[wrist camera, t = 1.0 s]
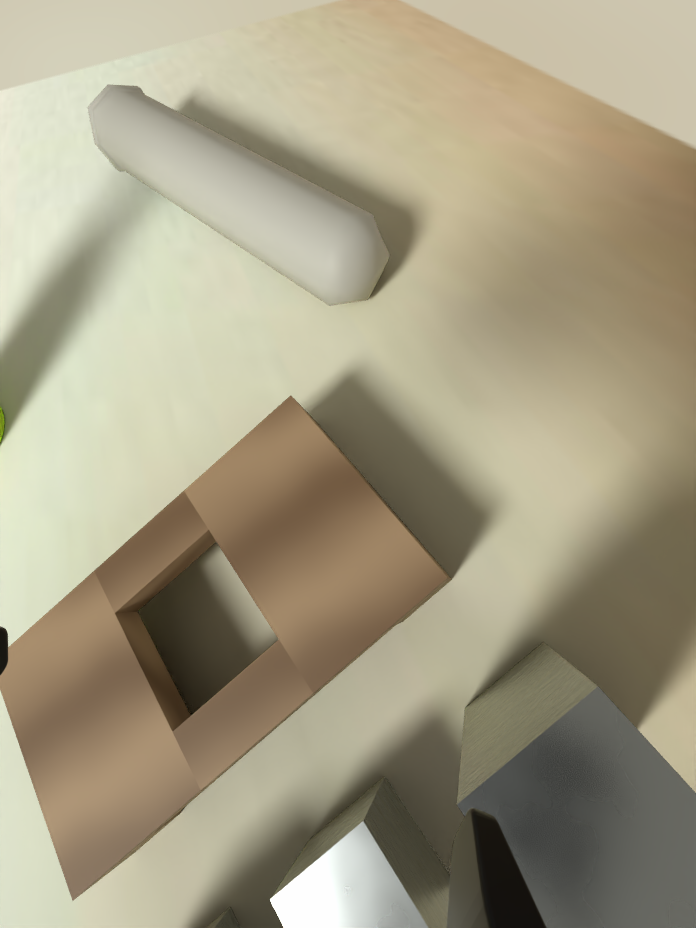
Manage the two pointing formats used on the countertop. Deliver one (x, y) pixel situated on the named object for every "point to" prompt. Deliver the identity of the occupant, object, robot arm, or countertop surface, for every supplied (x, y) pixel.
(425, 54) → the countertop surface
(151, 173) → the tube
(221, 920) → the medium pin
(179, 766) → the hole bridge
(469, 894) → the robot arm
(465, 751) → the long pin
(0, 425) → the soap dispenser
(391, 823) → the grey metal cube
